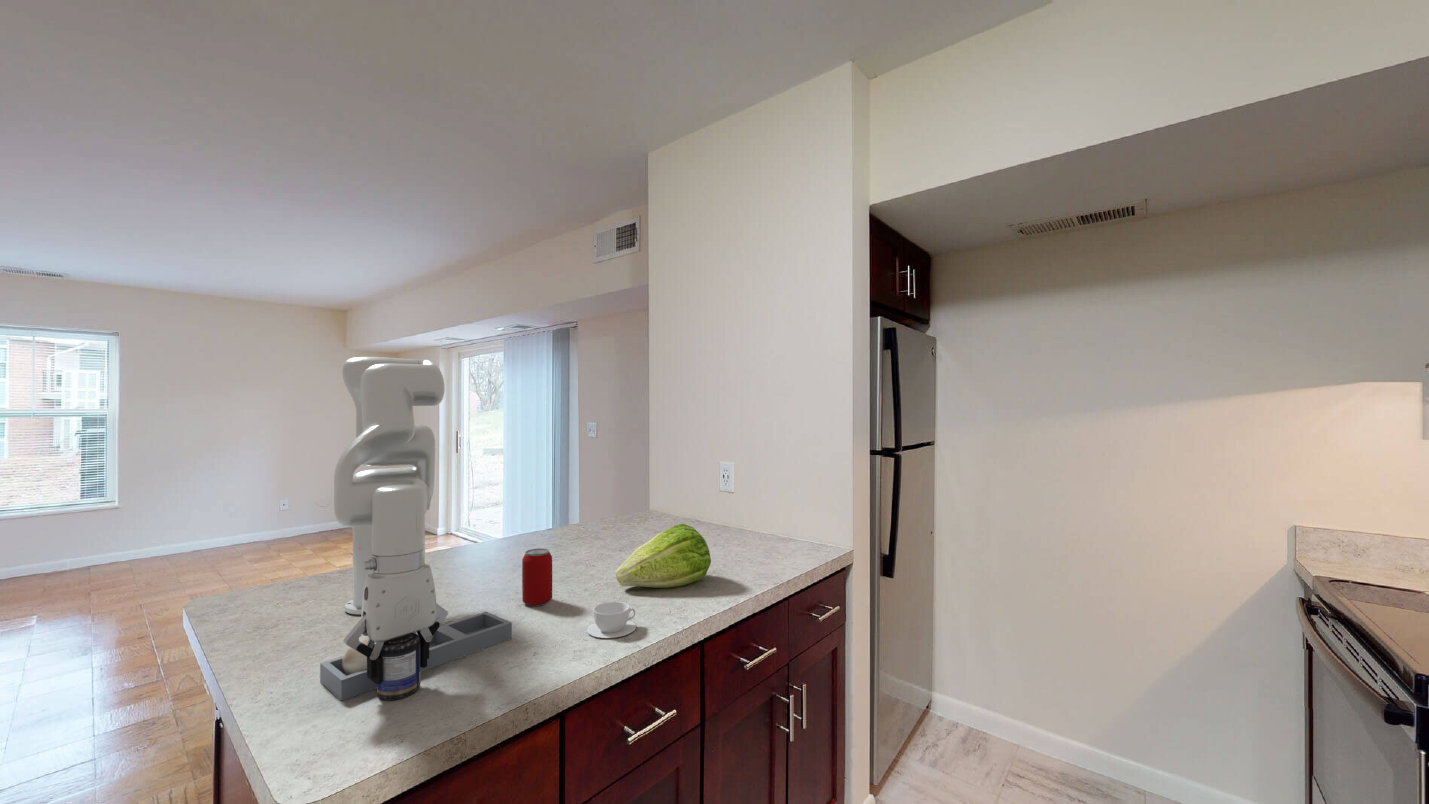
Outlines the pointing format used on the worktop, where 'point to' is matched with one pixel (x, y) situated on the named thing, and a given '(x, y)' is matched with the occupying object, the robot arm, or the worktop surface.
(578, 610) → the worktop surface
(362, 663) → the potato
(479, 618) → the well holder
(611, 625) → the teacup
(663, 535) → the lettuce
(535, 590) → the beverage can
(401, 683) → the pill bottle
